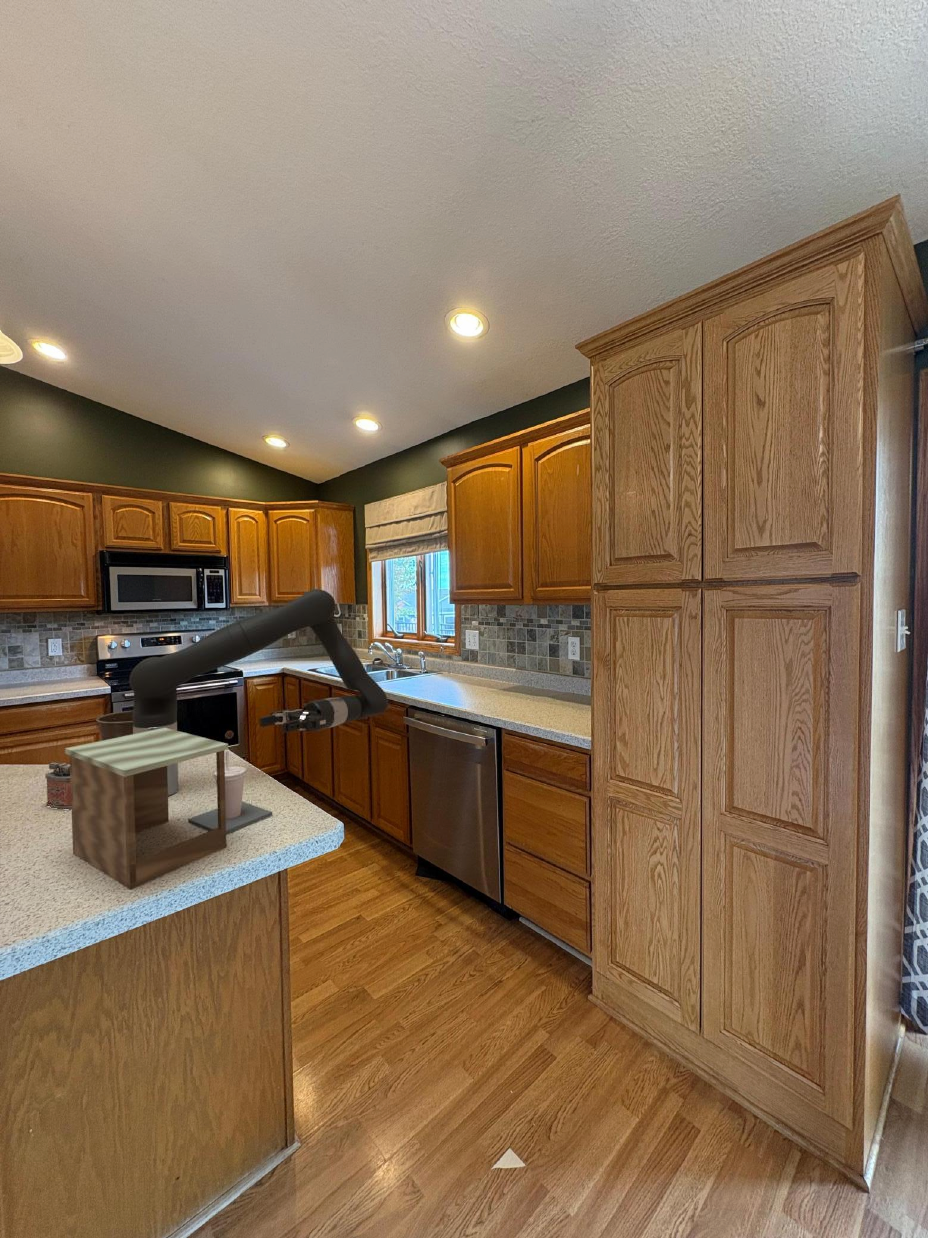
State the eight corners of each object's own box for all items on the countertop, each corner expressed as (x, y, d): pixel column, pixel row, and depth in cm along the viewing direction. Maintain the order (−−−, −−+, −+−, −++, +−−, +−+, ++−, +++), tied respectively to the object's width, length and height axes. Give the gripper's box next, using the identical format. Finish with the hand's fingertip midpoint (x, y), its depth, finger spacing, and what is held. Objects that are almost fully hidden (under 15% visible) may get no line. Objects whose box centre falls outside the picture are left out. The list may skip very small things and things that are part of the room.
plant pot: (145, 761, 152) (144, 706, 151) (181, 769, 145) (180, 712, 144) (84, 778, 137) (82, 718, 136) (121, 788, 130) (119, 724, 129)
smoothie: (221, 809, 115) (220, 747, 114) (251, 808, 115) (250, 746, 115) (209, 822, 108) (208, 756, 108) (241, 821, 109) (240, 755, 108)
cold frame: (68, 854, 97) (65, 748, 96) (167, 819, 112) (165, 727, 111) (128, 892, 84) (124, 770, 83) (230, 847, 99) (228, 744, 98)
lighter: (82, 806, 119) (80, 763, 119) (66, 811, 116) (65, 767, 115) (58, 801, 122) (56, 759, 121) (42, 807, 118) (40, 764, 118)
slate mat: (188, 822, 110) (188, 819, 110) (239, 803, 120) (239, 800, 120) (221, 836, 103) (220, 833, 103) (272, 815, 113) (272, 812, 113)
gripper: (307, 695, 137) (253, 705, 124) (345, 702, 130) (292, 713, 116) (306, 723, 138) (252, 736, 124) (345, 732, 130) (291, 746, 116)
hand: (272, 725), depth 120 cm, fingers open, 8 cm apart
